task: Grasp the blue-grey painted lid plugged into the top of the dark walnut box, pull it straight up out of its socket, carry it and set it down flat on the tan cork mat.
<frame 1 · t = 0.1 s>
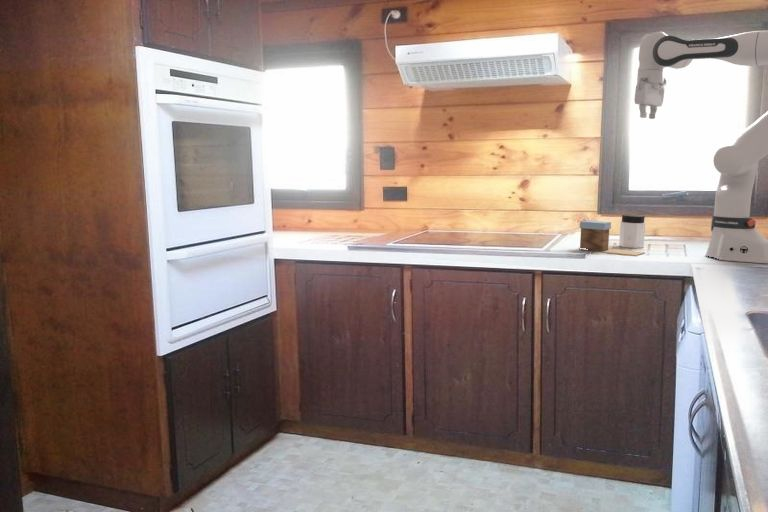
hand: (647, 118, 256), 48 cm above the countertop, fingers open, 8 cm apart
box: (593, 250, 259), on the countertop
lid: (595, 231, 258), point 7 cm above the countertop, touching box
mat: (623, 253, 252), on the countertop
jar: (631, 247, 269), on the countertop
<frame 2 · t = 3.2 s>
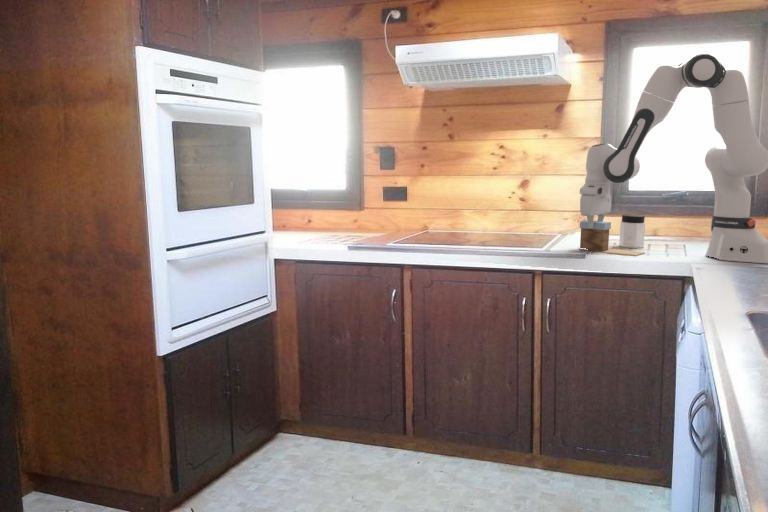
hand: (595, 226, 258), 9 cm above the countertop, fingers closed on lid, 6 cm apart
lid: (595, 231, 258), point 7 cm above the countertop, touching box, gripper
everything else where it was.
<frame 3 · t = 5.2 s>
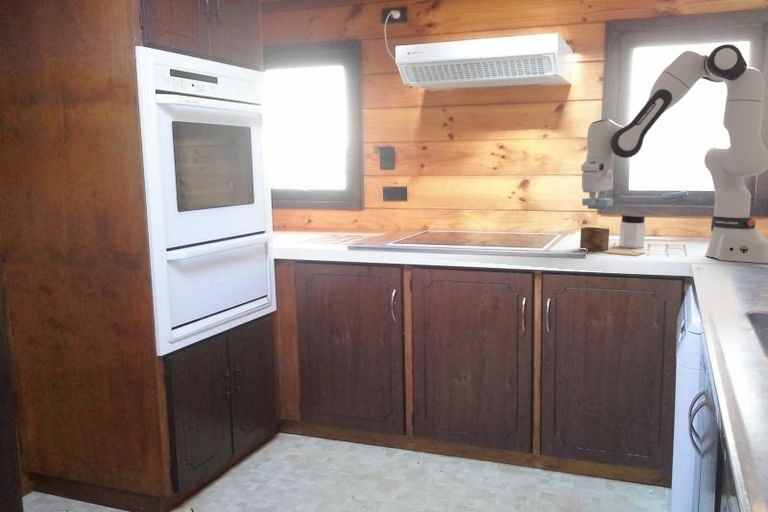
hand: (597, 203, 256), 17 cm above the countertop, fingers closed on lid, 6 cm apart
lid: (597, 208, 256), point 15 cm above the countertop, touching gripper
everything else where it was.
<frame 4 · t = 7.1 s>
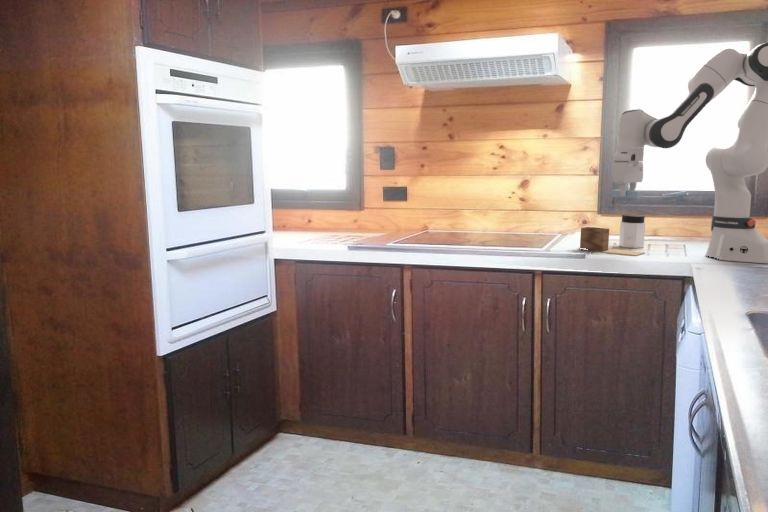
hand: (627, 195, 249), 20 cm above the countertop, fingers closed on lid, 6 cm apart
lid: (626, 200, 249), point 19 cm above the countertop, touching gripper
everything else where it was.
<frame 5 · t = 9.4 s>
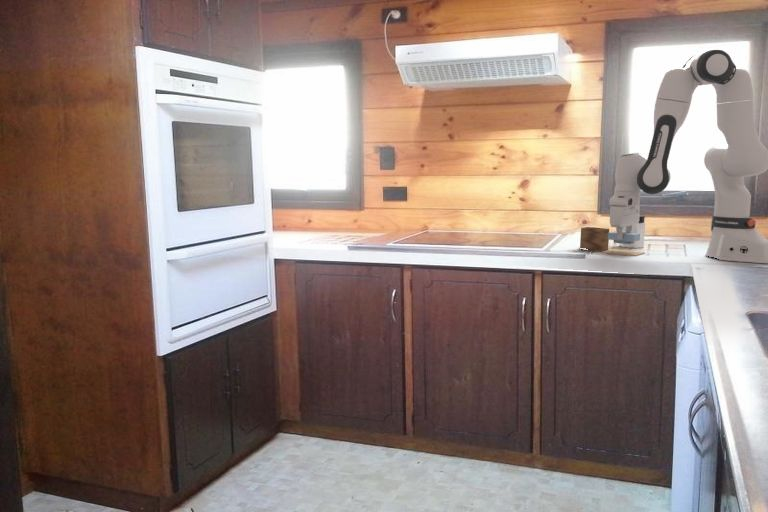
hand: (623, 238, 251), 5 cm above the countertop, fingers closed on lid, 6 cm apart
lid: (623, 243, 251), point 4 cm above the countertop, touching gripper
everything else where it was.
when the fingers open (3 cm above the countertop, at t = 11.0 s): lid stays where it is, resting on mat.
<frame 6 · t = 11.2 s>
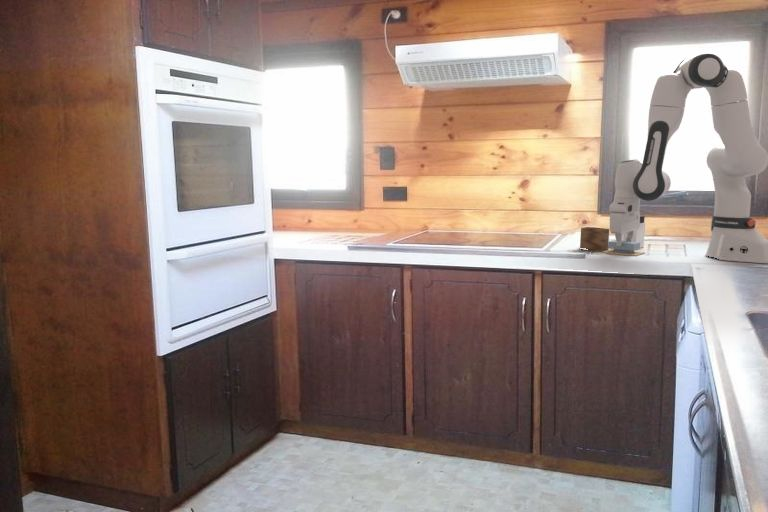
hand: (624, 244, 252), 3 cm above the countertop, fingers open, 8 cm apart
lid: (623, 251, 252), resting on mat
everything else where it was.
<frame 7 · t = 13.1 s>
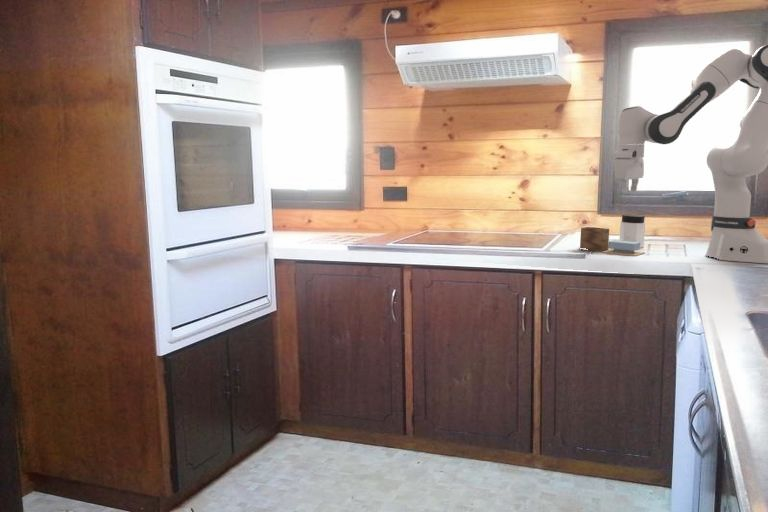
hand: (629, 192, 252), 22 cm above the countertop, fingers open, 8 cm apart
nothing on the countertop moved.
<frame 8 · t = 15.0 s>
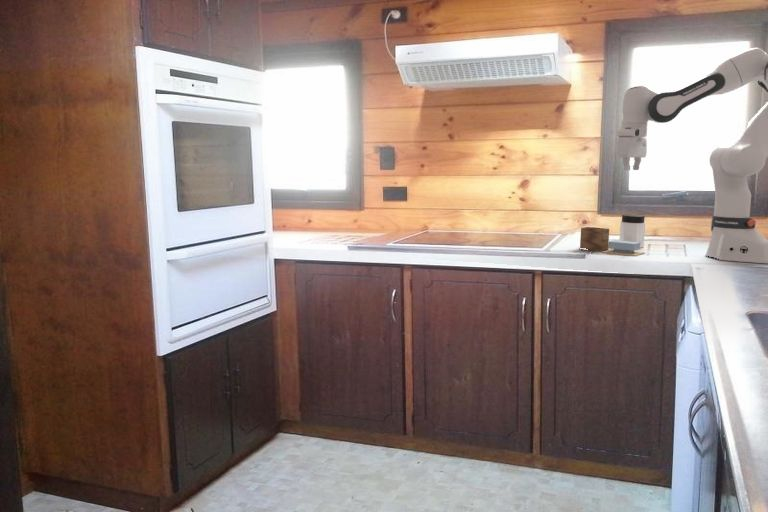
hand: (631, 170, 258), 29 cm above the countertop, fingers open, 8 cm apart
nothing on the countertop moved.
at the end: lid inside the target area on the mat (0.1 cm from its centre), point 0.4 cm above the mat's base; lid tilted 0°; the gripper is holding nothing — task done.
